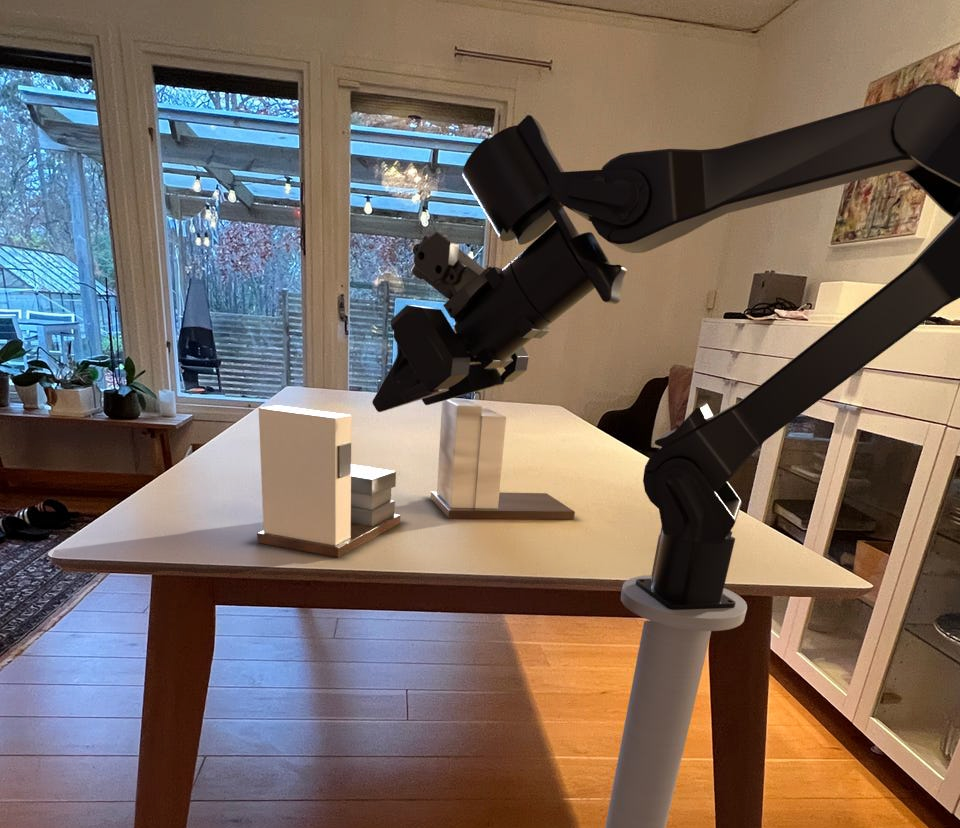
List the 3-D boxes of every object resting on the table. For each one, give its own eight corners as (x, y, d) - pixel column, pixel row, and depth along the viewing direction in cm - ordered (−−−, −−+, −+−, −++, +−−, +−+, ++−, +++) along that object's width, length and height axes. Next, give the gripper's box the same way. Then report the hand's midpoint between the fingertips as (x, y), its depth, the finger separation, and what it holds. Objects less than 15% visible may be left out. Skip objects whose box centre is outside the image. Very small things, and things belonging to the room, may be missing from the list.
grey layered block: (400, 523, 83) (402, 470, 80) (338, 557, 70) (338, 495, 67) (330, 511, 85) (330, 459, 83) (257, 542, 72) (254, 481, 69)
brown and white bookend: (574, 519, 91) (588, 413, 86) (448, 518, 87) (455, 406, 81) (545, 500, 100) (557, 403, 95) (430, 498, 95) (436, 396, 90)
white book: (352, 538, 72) (353, 415, 68) (337, 546, 70) (337, 418, 65) (281, 525, 74) (277, 405, 70) (263, 532, 72) (258, 407, 67)
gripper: (519, 221, 66) (401, 330, 74) (428, 180, 50) (291, 324, 58) (582, 328, 67) (459, 423, 75) (513, 321, 51) (366, 443, 59)
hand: (400, 403), depth 67 cm, fingers open, 9 cm apart
